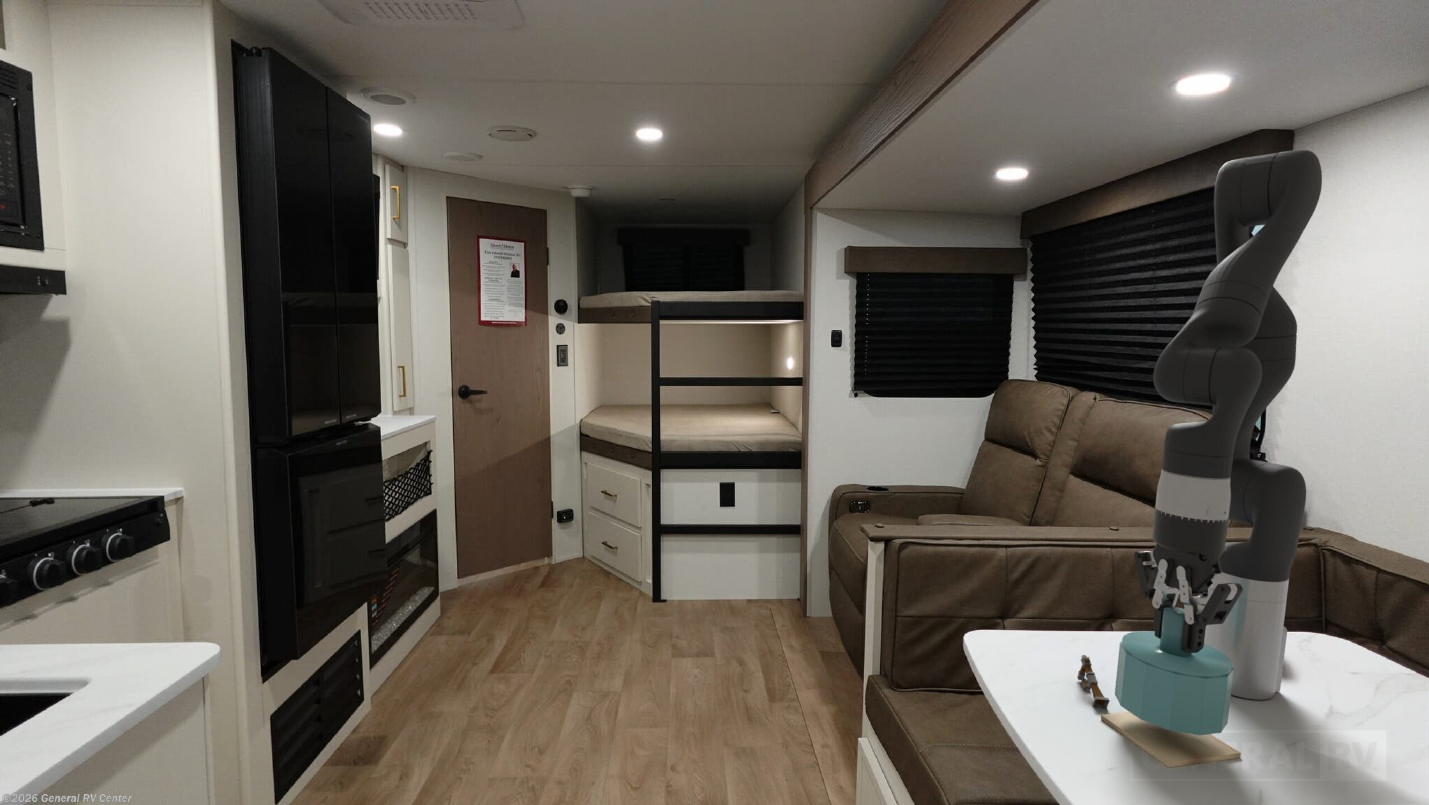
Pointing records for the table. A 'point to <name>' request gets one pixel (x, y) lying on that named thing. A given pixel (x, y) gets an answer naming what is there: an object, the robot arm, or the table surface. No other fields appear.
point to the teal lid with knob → (1174, 680)
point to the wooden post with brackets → (1091, 683)
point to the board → (1170, 742)
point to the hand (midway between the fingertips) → (1176, 643)
